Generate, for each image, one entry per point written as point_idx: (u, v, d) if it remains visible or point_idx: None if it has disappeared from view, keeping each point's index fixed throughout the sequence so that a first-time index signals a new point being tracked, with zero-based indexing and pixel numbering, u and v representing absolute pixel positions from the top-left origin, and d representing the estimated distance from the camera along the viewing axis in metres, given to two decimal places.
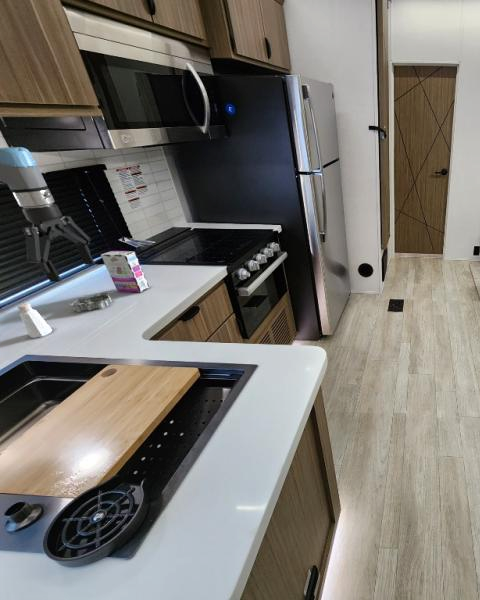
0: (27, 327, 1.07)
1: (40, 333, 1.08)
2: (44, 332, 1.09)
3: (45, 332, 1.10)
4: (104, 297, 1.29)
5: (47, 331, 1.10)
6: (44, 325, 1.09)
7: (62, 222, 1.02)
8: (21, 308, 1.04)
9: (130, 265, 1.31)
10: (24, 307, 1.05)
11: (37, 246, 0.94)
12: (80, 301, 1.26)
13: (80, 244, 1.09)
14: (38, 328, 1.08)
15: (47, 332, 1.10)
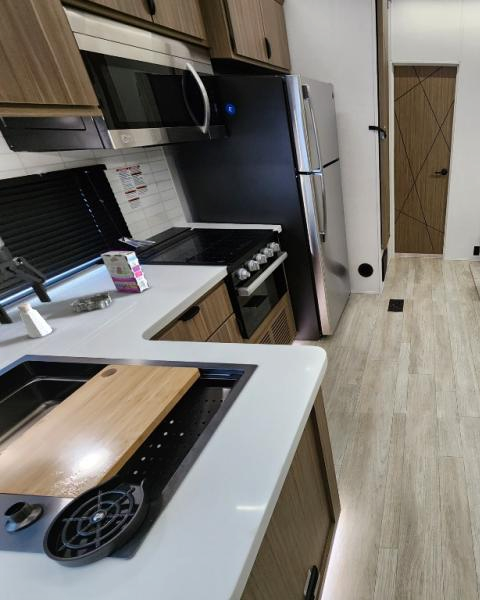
0: (27, 327, 1.07)
1: (40, 333, 1.08)
2: (44, 332, 1.09)
3: (45, 332, 1.10)
4: (104, 297, 1.29)
5: (47, 331, 1.10)
6: (44, 325, 1.09)
7: (14, 263, 1.02)
8: (21, 308, 1.04)
9: (130, 265, 1.31)
10: (24, 307, 1.05)
11: None
12: (80, 301, 1.26)
13: (35, 283, 1.09)
14: (38, 328, 1.08)
15: (47, 332, 1.10)
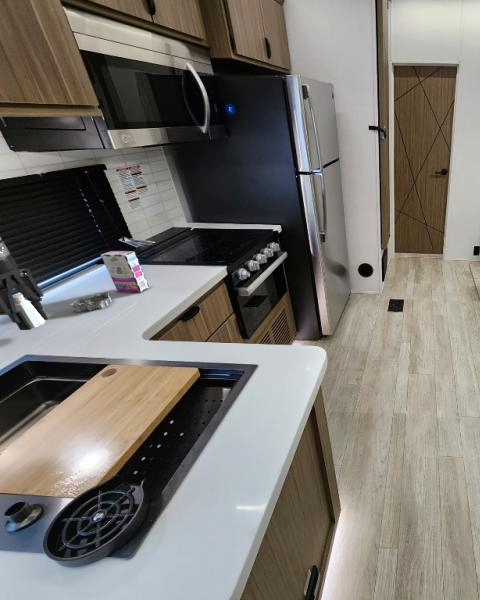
0: None
1: (33, 324, 1.07)
2: (37, 323, 1.08)
3: (38, 323, 1.08)
4: (104, 297, 1.29)
5: (40, 322, 1.09)
6: (37, 316, 1.08)
7: (18, 272, 1.03)
8: (14, 299, 1.03)
9: (130, 265, 1.31)
10: (17, 298, 1.03)
11: (0, 301, 0.98)
12: (80, 301, 1.26)
13: (31, 300, 1.08)
14: (31, 319, 1.06)
15: (40, 323, 1.09)
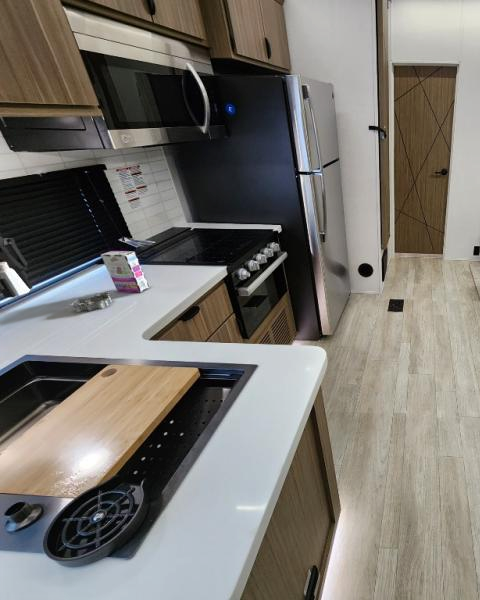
0: None
1: (17, 292, 1.10)
2: (21, 291, 1.10)
3: (22, 291, 1.11)
4: (104, 297, 1.29)
5: (24, 291, 1.11)
6: (21, 284, 1.10)
7: (2, 240, 1.06)
8: None
9: (130, 265, 1.31)
10: (1, 265, 1.06)
11: None
12: (80, 301, 1.26)
13: (16, 269, 1.11)
14: (15, 287, 1.09)
15: (24, 292, 1.11)
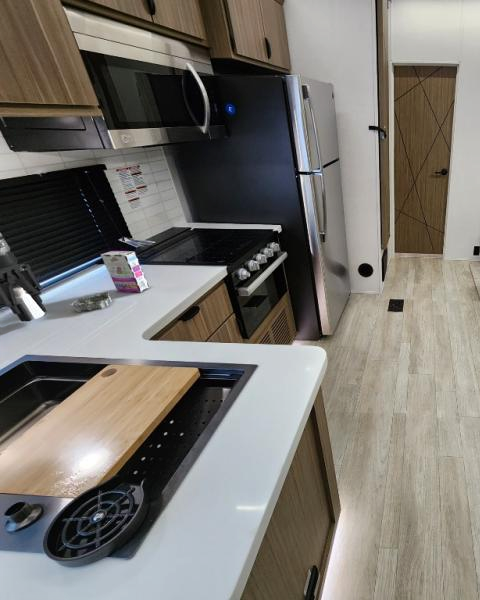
0: None
1: (33, 316, 1.14)
2: (37, 315, 1.15)
3: (38, 315, 1.15)
4: (104, 297, 1.29)
5: (39, 314, 1.16)
6: (37, 309, 1.15)
7: (18, 267, 1.11)
8: (15, 292, 1.10)
9: (130, 265, 1.31)
10: (17, 291, 1.10)
11: (2, 293, 1.05)
12: (80, 301, 1.26)
13: (31, 293, 1.15)
14: (31, 311, 1.14)
15: (39, 315, 1.16)
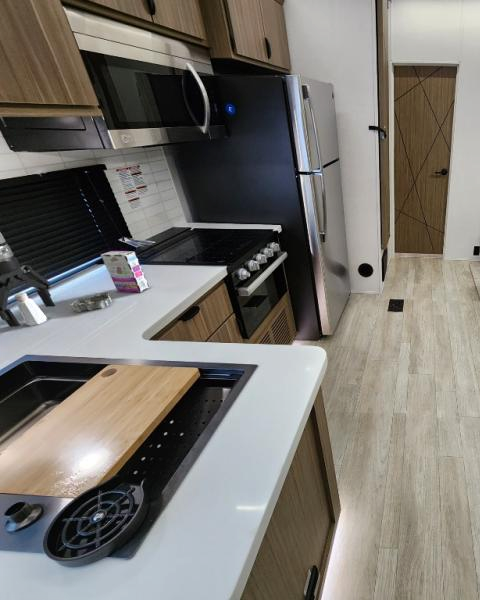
0: (23, 315, 1.13)
1: (36, 321, 1.15)
2: (40, 320, 1.16)
3: (41, 320, 1.16)
4: (104, 297, 1.29)
5: (42, 319, 1.17)
6: (40, 314, 1.16)
7: (21, 272, 1.12)
8: (18, 297, 1.11)
9: (130, 265, 1.31)
10: (21, 296, 1.11)
11: None
12: (80, 301, 1.26)
13: (40, 289, 1.19)
14: (34, 316, 1.15)
15: (42, 320, 1.17)
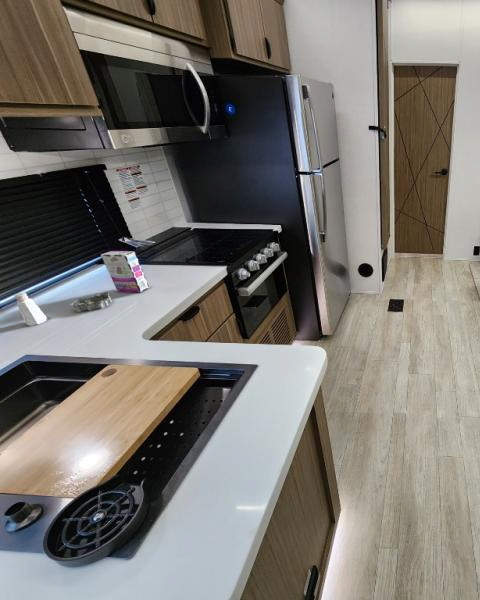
0: (23, 315, 1.13)
1: (36, 321, 1.15)
2: (40, 320, 1.16)
3: (41, 320, 1.16)
4: (104, 297, 1.29)
5: (42, 319, 1.17)
6: (40, 314, 1.16)
7: None
8: (18, 297, 1.11)
9: (130, 265, 1.31)
10: (21, 296, 1.11)
11: None
12: (80, 301, 1.26)
13: None
14: (34, 316, 1.15)
15: (42, 320, 1.17)
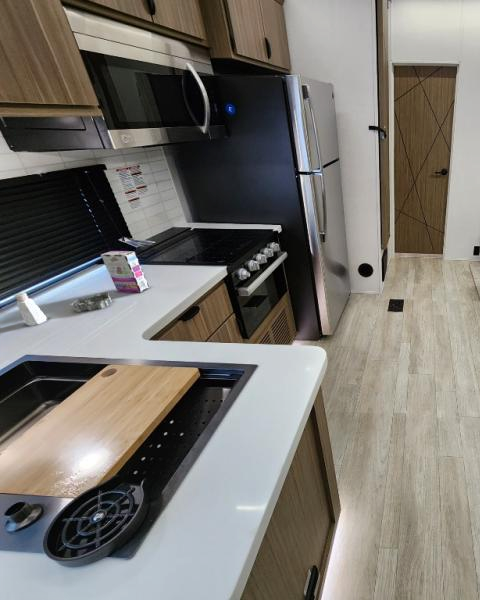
0: (23, 315, 1.13)
1: (36, 321, 1.15)
2: (40, 320, 1.16)
3: (41, 320, 1.16)
4: (104, 297, 1.29)
5: (42, 319, 1.17)
6: (40, 314, 1.16)
7: None
8: (18, 297, 1.11)
9: (130, 265, 1.31)
10: (21, 296, 1.11)
11: None
12: (80, 301, 1.26)
13: None
14: (34, 316, 1.15)
15: (42, 320, 1.17)
